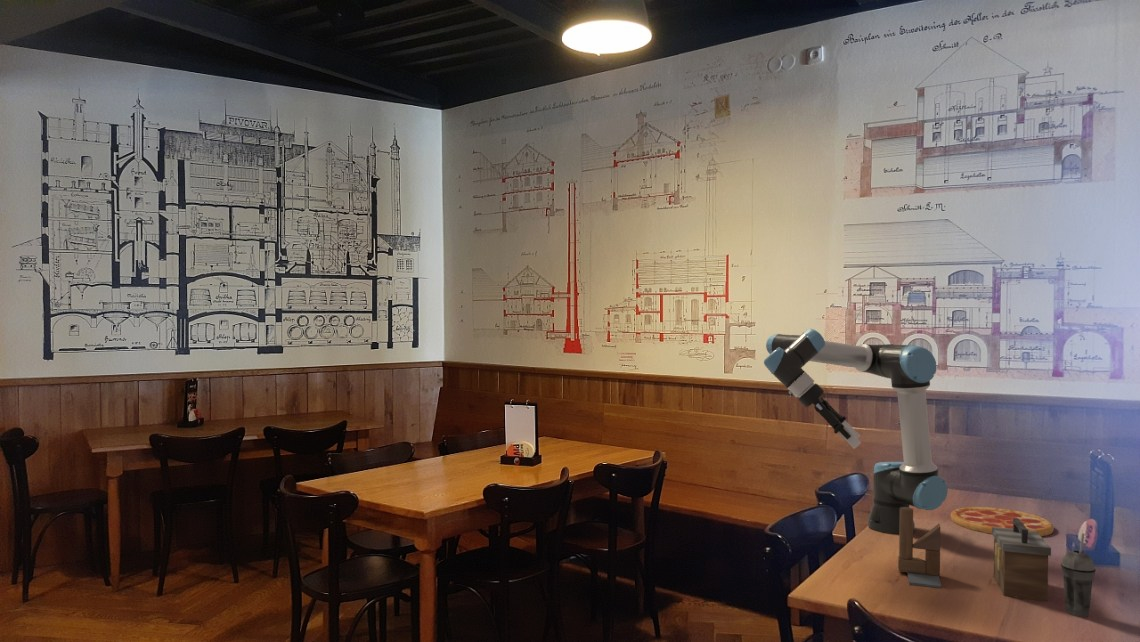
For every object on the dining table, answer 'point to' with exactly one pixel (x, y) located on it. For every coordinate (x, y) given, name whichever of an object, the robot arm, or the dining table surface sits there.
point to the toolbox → (1021, 562)
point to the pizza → (998, 519)
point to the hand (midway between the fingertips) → (857, 442)
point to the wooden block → (918, 547)
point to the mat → (924, 580)
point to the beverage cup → (1078, 581)
